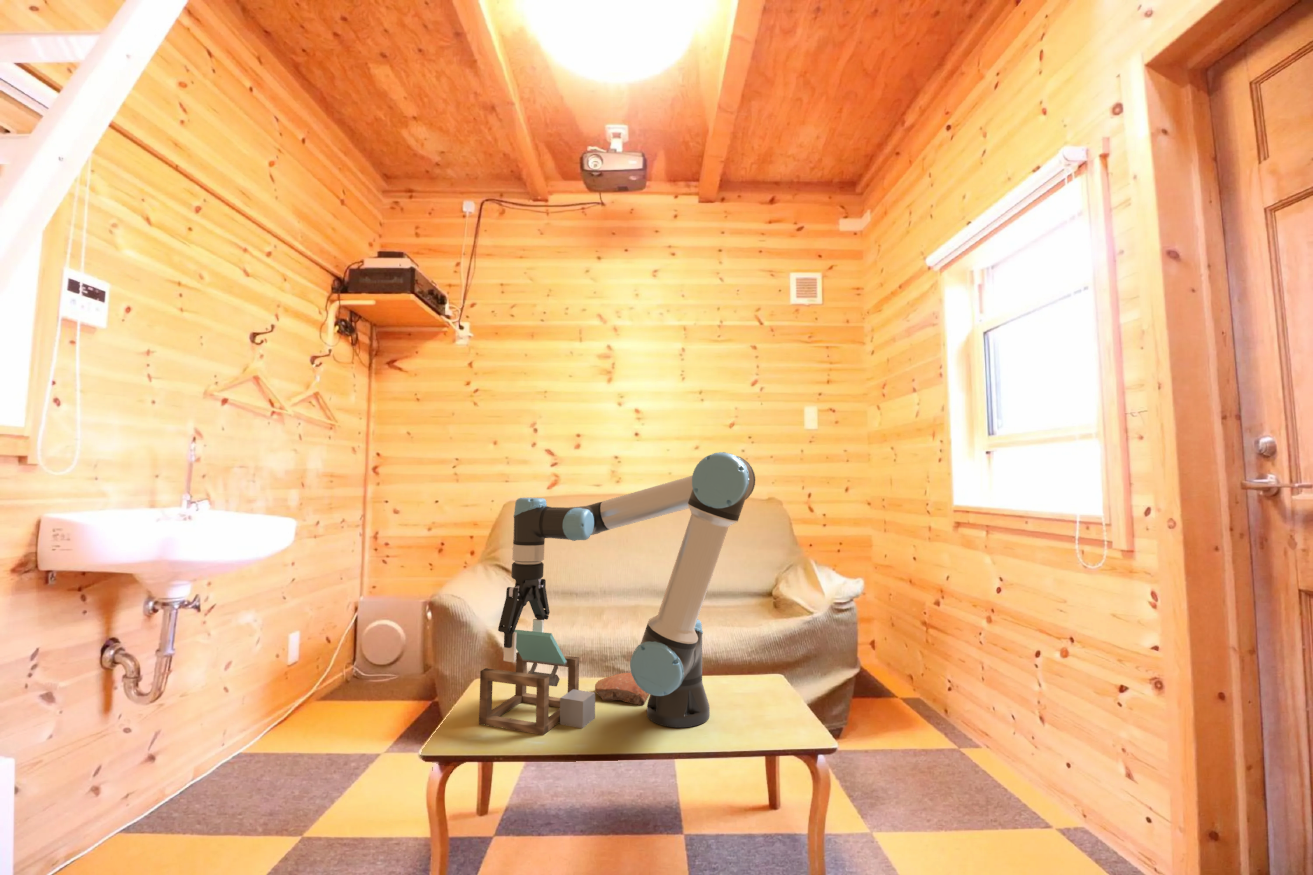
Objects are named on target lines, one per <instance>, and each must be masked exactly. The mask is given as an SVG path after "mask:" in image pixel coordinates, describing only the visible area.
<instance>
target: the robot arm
mask: <svg viewBox="0 0 1313 875" xmlns="http://www.w3.org/2000/svg"><path fill="white" fill-rule="evenodd" d="M755 474H756V473H755V471H754V469H753V467H752V465H751V464H750V463H749V462H748V461H747V460H745V458H743V457H741V456H737V455H735V454H733V453H728V452H725V451H723V452H721V451H720V452H713V453H712V454H709V455H707V456H705V457H703V458H702V459H701V460H700V461H699V462H698V463H697V464H696V466H695V468H694V470H693V473H692V475H690V476H686V477H683V478H682V477H681V478H680V479H675V480H673V481H669V482H665V483H662V484H659V485H658V484H657V485H655V486H651V487H648V488H645V489H641V490H638V491H633V492H630V493H628V494H624V495H620V496H617V497H614V498H610V499H606V500H603V501H599V502H595V503H591V504H587V505H583V506H570V507H557V506H556V507H555V506H553V507H552V506H548V504H547V500H546V498H543V497H519V498H517V499H516V500H515V503H514V504H515V505H514V511H513V512H514V513H513V541H512V561H514V562H512V564H511V578H512V579H513V580H514V581H515V584H514V586H513V587H511V586H508V587H506V591H505V592H506V595H505V600H504V604H503V608H502V612H501V617H500V619H499V624H498V627H497V631H498V632H500V633H503V662H509V663H516V653H517V649H516V637H517V632H514V631H515V630H516V628H517V626H518V623H519V620H520V617H521V615H522V612H523V610H524V607H525V606H526V605H527V604H528V602H529V605H530V607H531V610H532V612H533V615H534V619H533V620H532V631H534V632H544V629H545V628H544V627H545V620H548V619H549V615H550V606H549V601H548V600H549V599H548V595H547V588H546V585H547V583H546V579H545V578H543V577H544V566H545V565H544V563H543V561H544V560H545V542H546V539H557V540H558V539H559V540H568V541H569V540H570V541H572V542H574V541H588V539H590V536H595V535H598V534H600V533H603V532H606V531H611V530H614V529H618V528H620V527H624V526H628V525H631V524H635V523H638V522H639V523H640V522H643V521H648V520H650V519H655V518H659V517H661V516H665V515H669V514H673V513H677V512H681V511H683V510H688V509H689V511H690V514H691V515H690V517H689V520H688V524H687V526H686V530H685V533H684V535H683V538H682V541H681V545H680V548H679V550H678V553H677V556H676V559H675V562H674V566H673V568H672V572H671V574H670V577H669V581H668V583H667V586H666V589H665V593H664V595H663V598H662V601H661V604H660V607H659V610H658V613H657V615H655V616H653V617H651V618H649V619H648V621H647V623H646V624H647V625H646V627H645V630H644V633H643V636H642V638H641V641H640V644H638V646H636V647H635V648H634V650H633V652H632V654H631V657H630V661H629V667H630V668H629V669H630V673H631V674H632V676H633V678H634V680H635V682H636V684H637V685H638V686H639V687H640V688H641V689H642V690H643V691H645V692H646V693H648V694H649V696H648V699H647V700H648V701H647V704H646V715H647V716H646V717H647V719H649V721H651V722H653V723H654V724H657V725H660V726H663V727H668V728H690V727H692V728H693V727H697V726H700V725H702V724H704V723H705V722H707V721H708V720H709V718H710V716H711V715H710V714H711V713H710V703H709V701H708V700H709V699H708V696H707V694H706V690H705V687H704V684H703V633H704V631H703V625H702V621H701V620H700V619H698V618H699V616H700V613H701V610H702V608H703V604H704V600H705V599H706V595H707V592H708V589H709V586H710V583H711V581H712V576H713V574H714V572H715V568H716V565H717V562H718V559H719V556H720V555H721V554H720V553H721V550H722V548H723V544H724V541H725V540H726V535H727V532H728V529H729V527H731V526H732V525H734V524H737V523H738V522H739V520H740V519H739V518H740V516H741V513H742V510H743V508H744V504H745V502H746V500H747V499H749V498H750V496H752V493H753V492H754V489H755V486H756V475H755ZM544 633H545V632H544Z"/></svg>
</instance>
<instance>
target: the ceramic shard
mask: <svg viewBox="0 0 1313 875" xmlns="http://www.w3.org/2000/svg"><path fill="white" fill-rule="evenodd" d="M594 691H595V694H597V696H599V698H601V700H602V701H603V702H606V701H607V702H609V701H622V702H625V703H629V704H634V705H637V704H638V706H644V705H645V703H646V701H647V700H648V699H649V697H650V694H648V693H646V692H645V691H643V690H642V689H641V688H640V687H639V686H638V685H637V684H636V682H635V680H634V678H633V676H632V674H631V672H621V673H617V674H613V675H611V676H606V677H604V678H602V679H599V680H598V681H597V682H596V683H595V684H594Z"/></svg>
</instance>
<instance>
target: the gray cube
mask: <svg viewBox="0 0 1313 875" xmlns="http://www.w3.org/2000/svg"><path fill="white" fill-rule="evenodd" d="M559 698H560V707H559V709H560V722H559V725H562V726H568V727H573V728H577V729H584V728H585V727H586V726H587V725H589V724H590V723H591V722H592V721H594V720H595V719H596V692H593V691H588V690H582V689H581V690H580V689H579V690H575V689H573V690H571V691H570V692H568V691H567V692H566V693H564V694H563V695H562V696H561V697H559Z"/></svg>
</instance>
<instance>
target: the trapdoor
mask: <svg viewBox="0 0 1313 875" xmlns="http://www.w3.org/2000/svg"><path fill="white" fill-rule="evenodd" d="M514 632H517V637H516V652H519V654H520V656H521V657H522V660H523V661H530V662H539V663H547V664H555V665H564V666H567V661H566V659H565V657H564V656H565V655H564V654H563V652H562V650H561V648H560V646H559V644H558V643H557V641H556V639H555V637H554V635H553V633H552V632H534V631H533V630H522V629H515V631H514ZM530 662H529V663H530ZM547 664H546V665H547ZM555 665H553V668H552V671H551V672H550V673H547V672H539V671H536V669H537V667H538V663H532V666H531V668H530V670H529V671H528V672H527V674H534V675H542V676H549V687H555V688H556V687H558V684H559V682H560V677H559V675H558V674H557V671H558V669H559V666H555Z"/></svg>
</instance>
